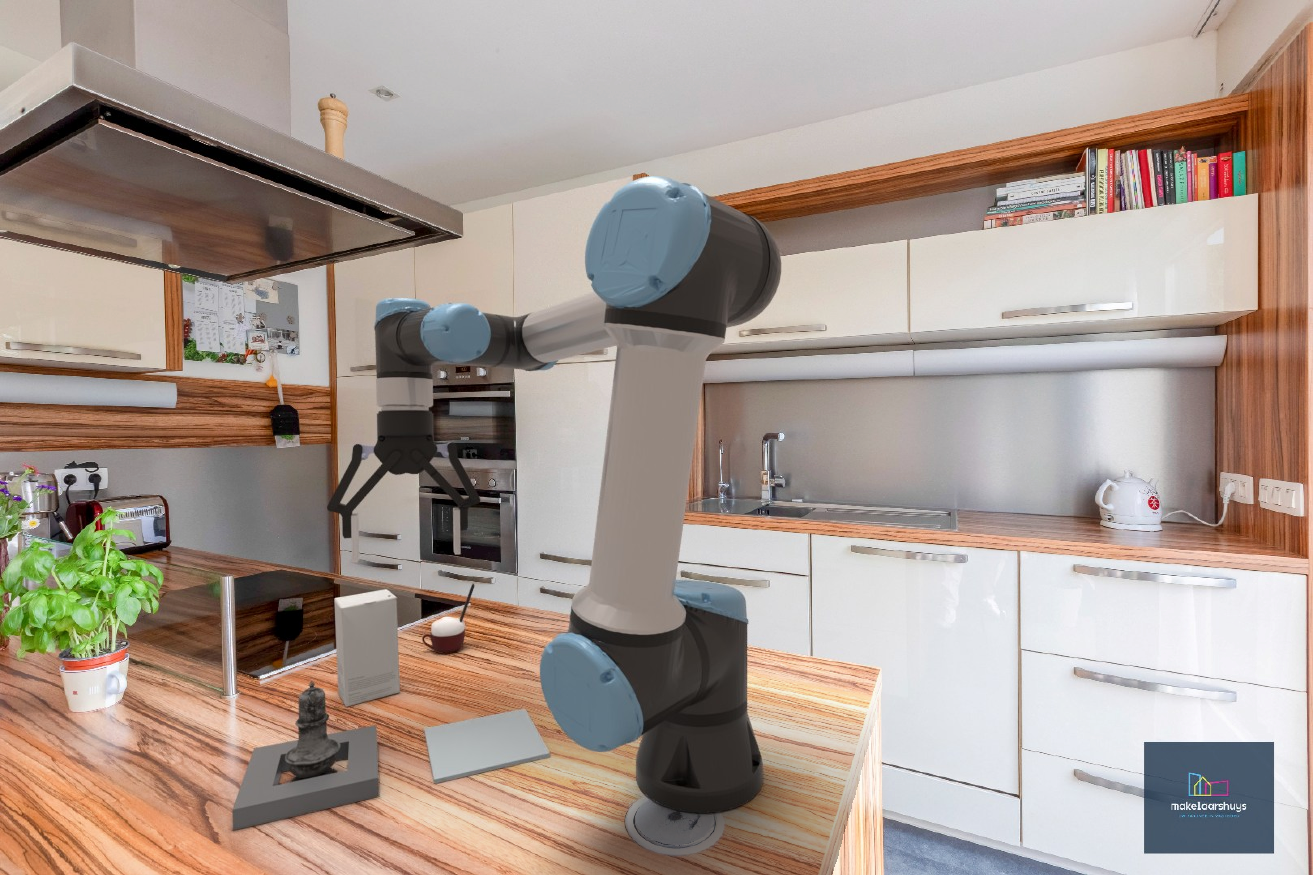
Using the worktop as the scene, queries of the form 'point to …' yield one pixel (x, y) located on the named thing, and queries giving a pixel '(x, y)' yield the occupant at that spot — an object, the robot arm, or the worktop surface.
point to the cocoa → (448, 631)
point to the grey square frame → (306, 781)
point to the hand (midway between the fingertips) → (407, 557)
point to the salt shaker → (312, 738)
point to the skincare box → (367, 646)
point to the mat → (483, 745)
